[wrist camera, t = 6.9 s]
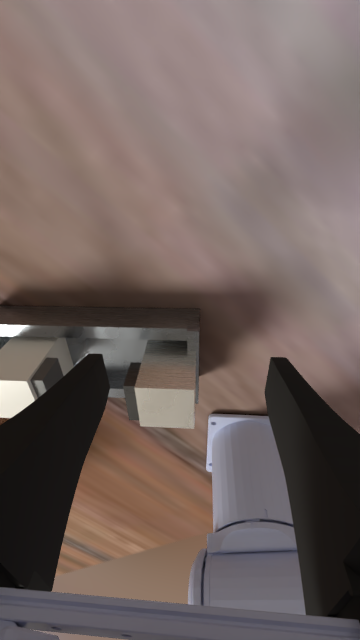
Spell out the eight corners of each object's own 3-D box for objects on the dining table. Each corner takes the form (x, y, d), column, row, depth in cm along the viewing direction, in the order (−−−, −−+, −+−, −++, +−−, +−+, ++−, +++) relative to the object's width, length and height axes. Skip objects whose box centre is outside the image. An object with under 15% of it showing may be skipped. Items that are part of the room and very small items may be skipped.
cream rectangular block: (18, 330, 22) (-29, 379, 18) (73, 331, 22) (39, 381, 17) (33, 364, 24) (-7, 417, 20) (82, 366, 24) (54, 420, 19)
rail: (198, 377, 25) (197, 444, 20) (26, 371, 26) (-22, 433, 21) (199, 308, 21) (197, 368, 16) (-2, 305, 23) (-69, 360, 17)
